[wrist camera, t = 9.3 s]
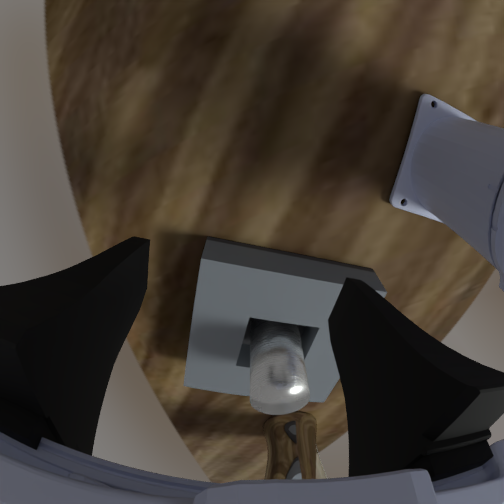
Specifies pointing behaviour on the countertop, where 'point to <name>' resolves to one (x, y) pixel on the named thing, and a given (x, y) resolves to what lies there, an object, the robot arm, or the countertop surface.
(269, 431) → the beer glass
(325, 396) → the hole block
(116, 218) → the countertop surface
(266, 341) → the peg
